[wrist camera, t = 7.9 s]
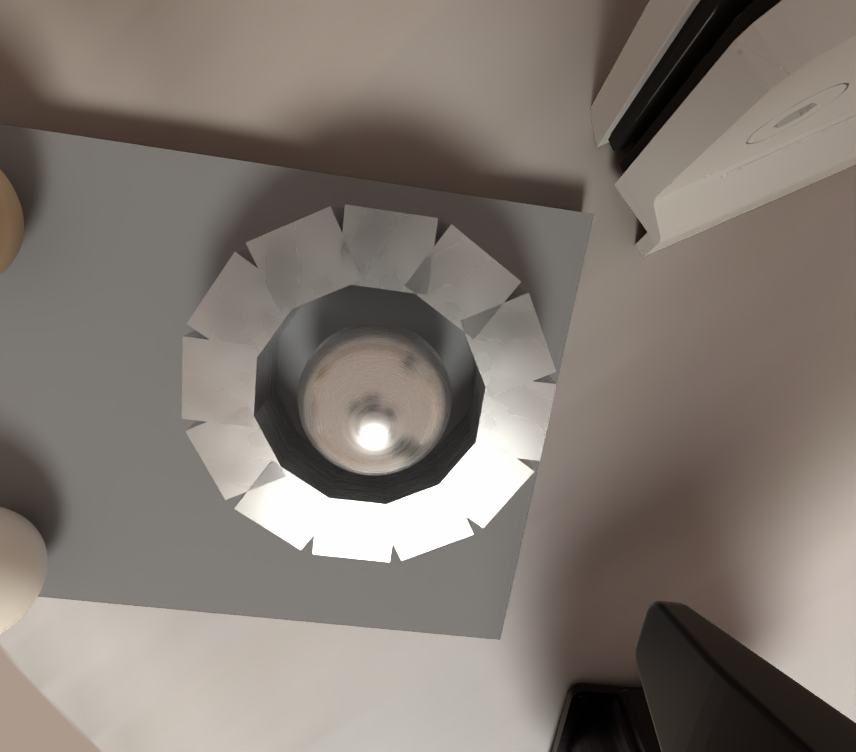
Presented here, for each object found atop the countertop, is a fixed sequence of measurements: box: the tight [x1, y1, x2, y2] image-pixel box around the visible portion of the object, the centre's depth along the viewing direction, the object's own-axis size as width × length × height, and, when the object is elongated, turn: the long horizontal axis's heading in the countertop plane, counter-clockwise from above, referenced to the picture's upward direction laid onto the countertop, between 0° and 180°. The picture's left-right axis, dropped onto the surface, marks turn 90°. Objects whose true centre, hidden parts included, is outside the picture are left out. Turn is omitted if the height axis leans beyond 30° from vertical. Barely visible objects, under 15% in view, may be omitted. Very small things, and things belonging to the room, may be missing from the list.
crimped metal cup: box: [182, 204, 557, 562], centre depth 16 cm, size 10×10×2 cm
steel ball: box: [297, 322, 452, 475], centre depth 15 cm, size 4×4×4 cm
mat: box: [0, 124, 594, 640], centre depth 18 cm, size 16×21×1 cm
